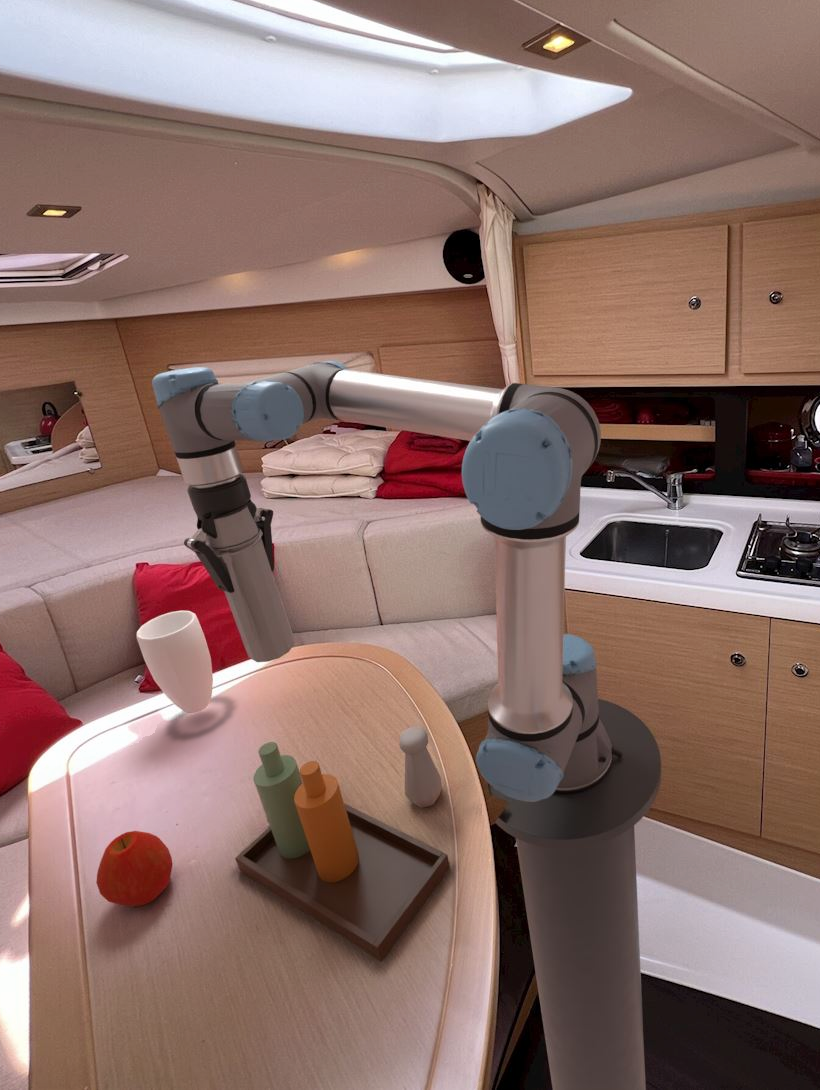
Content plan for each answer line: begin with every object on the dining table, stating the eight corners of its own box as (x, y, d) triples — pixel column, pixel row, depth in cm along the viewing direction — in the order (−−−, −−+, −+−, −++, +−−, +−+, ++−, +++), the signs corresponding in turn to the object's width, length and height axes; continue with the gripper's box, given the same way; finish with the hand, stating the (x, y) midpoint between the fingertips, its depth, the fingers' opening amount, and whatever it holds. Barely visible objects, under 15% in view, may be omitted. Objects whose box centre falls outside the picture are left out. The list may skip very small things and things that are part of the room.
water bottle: (254, 642, 100) (205, 505, 91) (302, 633, 101) (259, 497, 92) (237, 677, 92) (180, 530, 82) (290, 667, 93) (240, 520, 83)
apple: (102, 930, 80) (71, 874, 76) (125, 874, 87) (98, 821, 83) (170, 910, 82) (143, 855, 78) (187, 857, 89) (164, 804, 85)
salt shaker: (404, 814, 93) (388, 749, 88) (411, 784, 98) (396, 721, 94) (441, 810, 93) (428, 745, 88) (446, 781, 98) (434, 718, 94)
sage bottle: (320, 821, 93) (292, 729, 86) (316, 852, 87) (285, 757, 81) (282, 830, 91) (250, 738, 85) (275, 863, 86) (241, 768, 80)
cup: (233, 693, 124) (201, 603, 116) (228, 725, 115) (194, 630, 107) (176, 709, 121) (139, 618, 113) (167, 743, 112) (126, 647, 104)
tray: (450, 867, 84) (447, 854, 83) (381, 961, 73) (377, 948, 72) (315, 799, 97) (311, 787, 96) (239, 870, 86) (234, 858, 85)
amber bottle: (360, 841, 89) (333, 747, 82) (358, 876, 83) (329, 778, 77) (320, 852, 87) (289, 757, 81) (315, 887, 82) (283, 789, 76)
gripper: (242, 462, 93) (282, 595, 101) (152, 493, 82) (206, 639, 91) (273, 466, 89) (312, 604, 98) (183, 499, 78) (236, 650, 87)
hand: (260, 620), depth 94 cm, fingers closed
